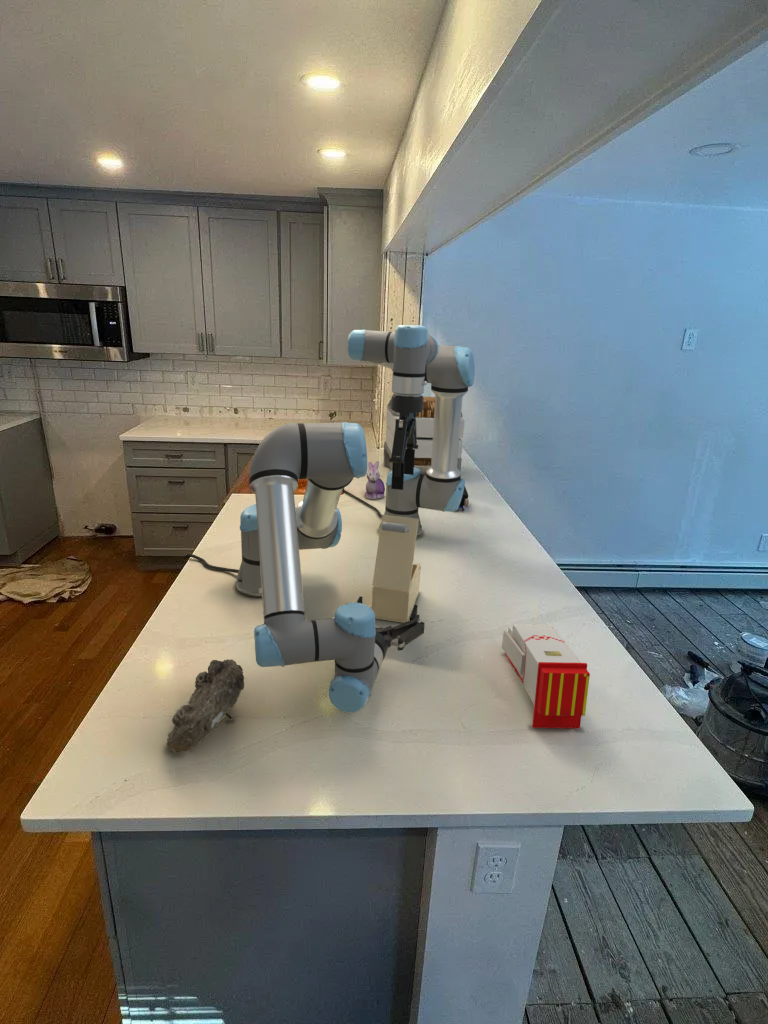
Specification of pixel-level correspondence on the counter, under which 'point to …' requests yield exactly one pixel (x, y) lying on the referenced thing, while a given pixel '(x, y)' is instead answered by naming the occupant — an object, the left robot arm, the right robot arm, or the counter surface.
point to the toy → (548, 674)
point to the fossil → (206, 705)
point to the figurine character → (464, 500)
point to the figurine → (374, 483)
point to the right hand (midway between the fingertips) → (402, 481)
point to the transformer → (418, 434)
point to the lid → (395, 552)
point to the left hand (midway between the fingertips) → (388, 605)
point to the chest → (396, 599)
